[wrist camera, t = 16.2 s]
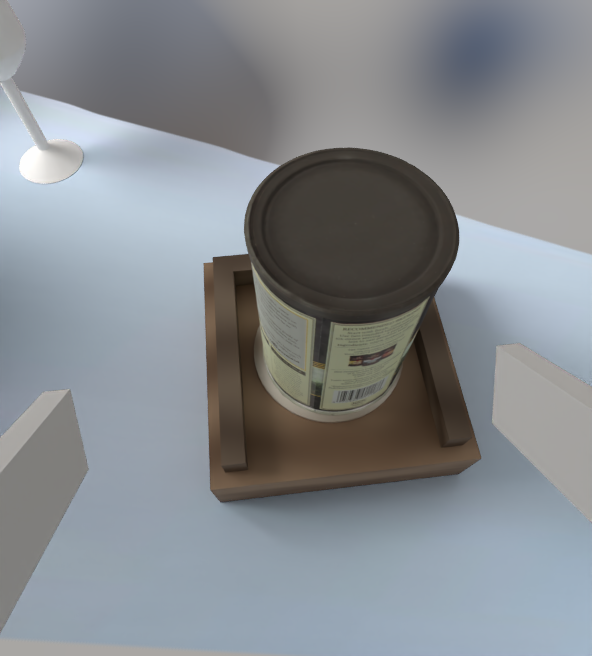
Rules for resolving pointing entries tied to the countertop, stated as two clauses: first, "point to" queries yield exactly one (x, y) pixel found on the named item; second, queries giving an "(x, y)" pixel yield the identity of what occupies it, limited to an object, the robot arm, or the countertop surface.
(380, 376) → the coffee can
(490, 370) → the countertop surface
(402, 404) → the display stand
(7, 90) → the champagne flute
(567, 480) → the robot arm
